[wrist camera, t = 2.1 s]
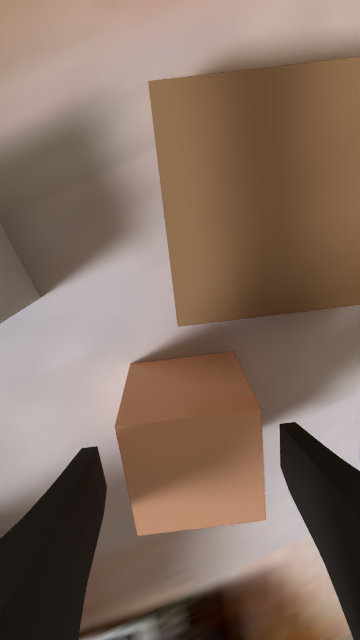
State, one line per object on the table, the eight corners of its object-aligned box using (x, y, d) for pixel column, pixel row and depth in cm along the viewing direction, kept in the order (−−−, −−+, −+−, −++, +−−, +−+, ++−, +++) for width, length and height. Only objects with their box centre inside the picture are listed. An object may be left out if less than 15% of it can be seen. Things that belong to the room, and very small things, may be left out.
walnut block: (352, 88, 13) (406, 51, 10) (343, 285, 15) (384, 301, 12) (152, 111, 13) (148, 81, 10) (175, 306, 15) (177, 326, 12)
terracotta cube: (232, 350, 16) (261, 409, 11) (238, 436, 17) (265, 520, 12) (130, 362, 16) (114, 426, 11) (145, 447, 17) (137, 535, 12)
